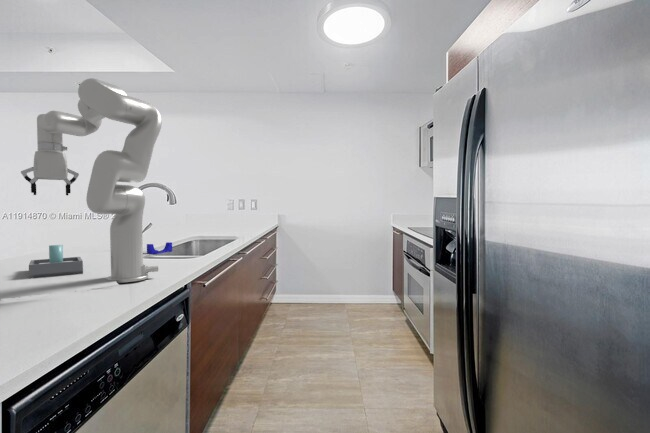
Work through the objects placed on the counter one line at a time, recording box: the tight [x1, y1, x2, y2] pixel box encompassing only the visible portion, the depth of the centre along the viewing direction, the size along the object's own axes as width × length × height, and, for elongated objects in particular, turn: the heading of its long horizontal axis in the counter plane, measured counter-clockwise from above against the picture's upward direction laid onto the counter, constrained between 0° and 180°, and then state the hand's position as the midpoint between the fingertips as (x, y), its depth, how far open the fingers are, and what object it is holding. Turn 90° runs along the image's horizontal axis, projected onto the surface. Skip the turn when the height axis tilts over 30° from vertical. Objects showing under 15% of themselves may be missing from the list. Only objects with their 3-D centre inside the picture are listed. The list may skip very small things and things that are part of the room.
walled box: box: [28, 256, 84, 279], centre depth 134 cm, size 15×16×4 cm
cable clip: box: [146, 241, 173, 255], centre depth 187 cm, size 12×4×6 cm, turn 148°
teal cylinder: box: [48, 244, 64, 263], centre depth 134 cm, size 4×4×9 cm
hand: (51, 195), depth 138 cm, fingers open, 9 cm apart
